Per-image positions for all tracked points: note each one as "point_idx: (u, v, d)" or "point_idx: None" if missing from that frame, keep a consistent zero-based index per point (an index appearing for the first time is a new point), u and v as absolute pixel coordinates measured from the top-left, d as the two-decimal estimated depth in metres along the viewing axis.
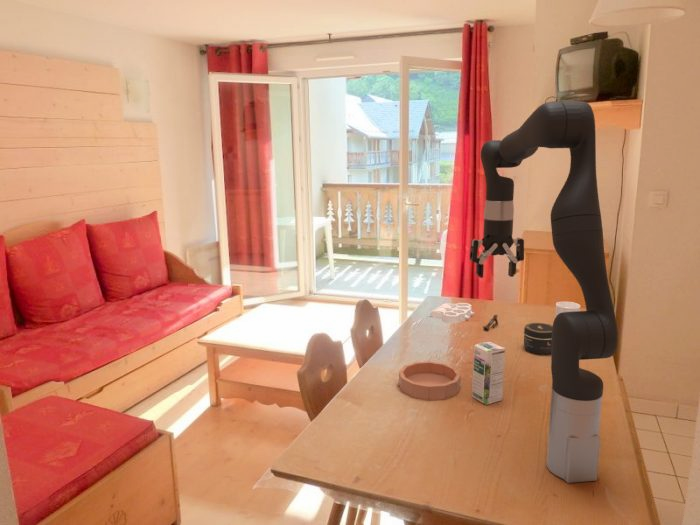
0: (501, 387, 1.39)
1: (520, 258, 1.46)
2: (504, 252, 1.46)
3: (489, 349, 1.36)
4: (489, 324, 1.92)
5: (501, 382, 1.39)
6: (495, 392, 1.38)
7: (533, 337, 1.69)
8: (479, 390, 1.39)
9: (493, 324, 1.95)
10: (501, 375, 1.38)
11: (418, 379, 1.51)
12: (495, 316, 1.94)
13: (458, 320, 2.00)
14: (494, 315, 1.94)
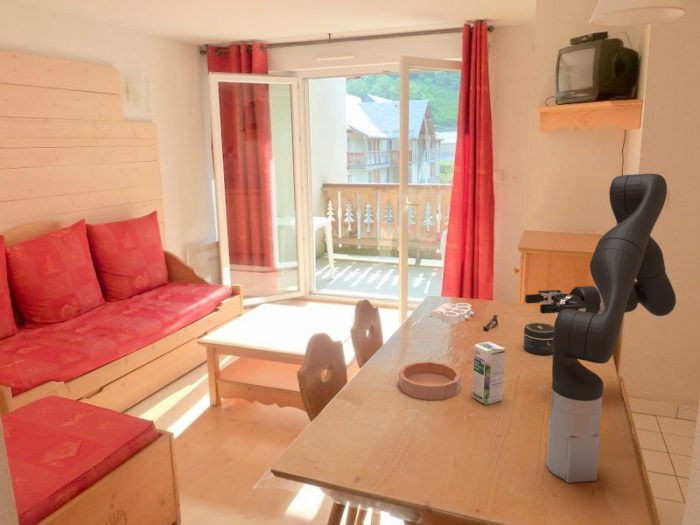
0: (501, 387, 1.39)
1: None
2: None
3: (489, 349, 1.36)
4: (489, 324, 1.92)
5: (501, 382, 1.39)
6: (495, 392, 1.38)
7: (533, 337, 1.69)
8: (479, 390, 1.39)
9: (493, 324, 1.95)
10: (501, 375, 1.38)
11: (418, 379, 1.51)
12: (495, 316, 1.94)
13: (458, 320, 2.00)
14: (494, 315, 1.94)
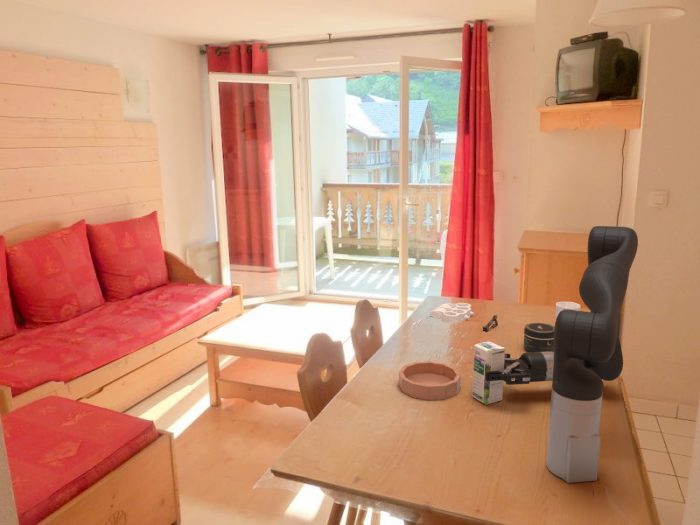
0: (501, 387, 1.39)
1: (508, 374, 1.34)
2: None
3: (489, 349, 1.36)
4: (488, 324, 1.91)
5: (501, 382, 1.39)
6: (495, 392, 1.38)
7: (533, 337, 1.69)
8: (479, 390, 1.39)
9: (493, 324, 1.94)
10: None
11: (418, 379, 1.51)
12: (495, 316, 1.94)
13: (458, 320, 2.00)
14: (494, 315, 1.94)
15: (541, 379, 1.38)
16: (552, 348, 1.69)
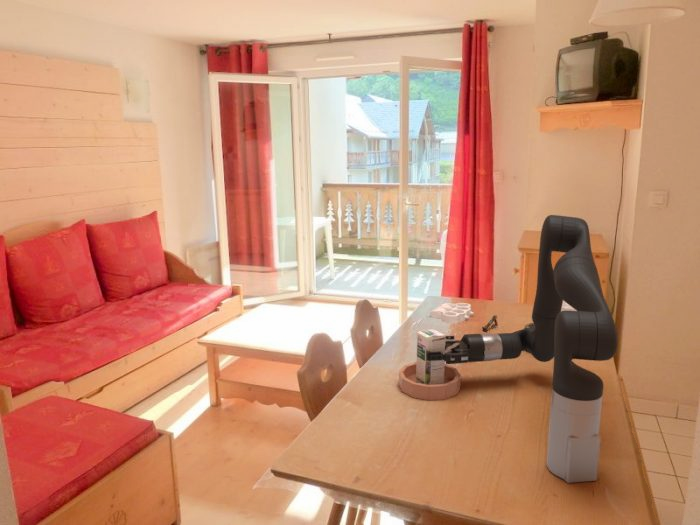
0: (443, 372, 1.46)
1: (448, 354, 1.41)
2: None
3: (430, 336, 1.43)
4: (488, 325, 1.91)
5: (442, 367, 1.46)
6: (436, 377, 1.46)
7: None
8: (422, 375, 1.46)
9: (492, 325, 1.94)
10: (442, 361, 1.46)
11: None
12: (494, 317, 1.93)
13: (458, 320, 2.00)
14: (493, 316, 1.93)
15: (480, 359, 1.45)
16: None
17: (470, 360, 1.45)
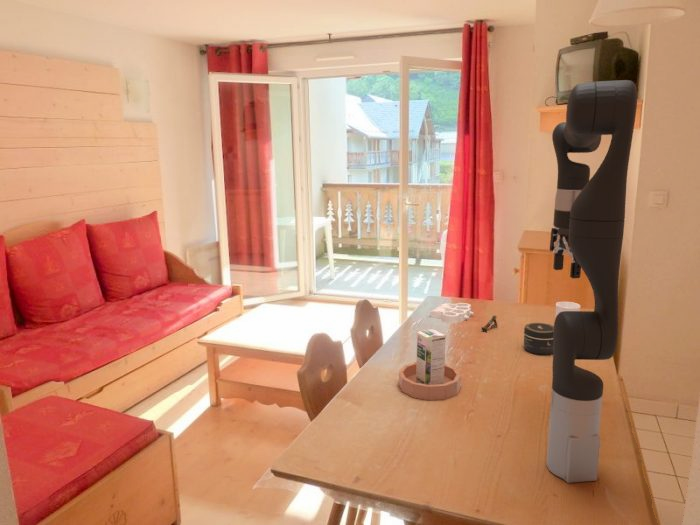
0: (443, 372, 1.46)
1: (575, 258, 1.27)
2: None
3: (430, 336, 1.43)
4: (488, 325, 1.91)
5: (442, 367, 1.46)
6: (436, 377, 1.46)
7: (533, 337, 1.69)
8: (422, 375, 1.46)
9: (492, 325, 1.94)
10: (442, 361, 1.46)
11: None
12: (494, 317, 1.93)
13: (458, 320, 2.00)
14: (493, 316, 1.93)
15: None
16: (552, 348, 1.69)
17: None
